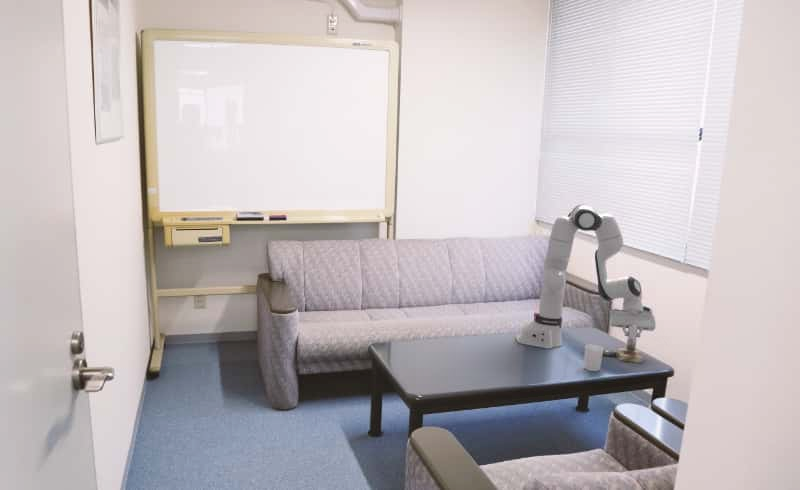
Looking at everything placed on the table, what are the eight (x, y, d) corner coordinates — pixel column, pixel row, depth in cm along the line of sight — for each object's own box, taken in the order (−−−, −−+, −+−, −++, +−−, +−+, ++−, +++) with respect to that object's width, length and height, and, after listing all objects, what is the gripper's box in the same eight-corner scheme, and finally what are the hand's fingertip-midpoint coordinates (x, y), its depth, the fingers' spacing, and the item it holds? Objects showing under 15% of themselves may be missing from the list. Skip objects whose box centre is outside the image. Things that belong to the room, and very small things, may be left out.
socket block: (619, 360, 283) (619, 354, 283) (617, 352, 293) (617, 347, 292) (641, 362, 281) (642, 357, 281) (639, 355, 290) (639, 350, 290)
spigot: (626, 350, 285) (629, 326, 282) (625, 347, 289) (628, 323, 286) (635, 351, 284) (638, 327, 282) (634, 348, 288) (637, 324, 285)
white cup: (602, 372, 267) (604, 351, 265) (583, 370, 268) (585, 349, 266) (600, 366, 274) (602, 345, 272) (582, 364, 276) (584, 343, 274)
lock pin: (598, 348, 290) (598, 353, 291) (599, 351, 288) (598, 355, 289) (616, 351, 288) (615, 355, 289) (616, 353, 286) (616, 358, 287)
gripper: (610, 304, 292) (610, 330, 284) (655, 309, 287) (656, 335, 279) (608, 311, 297) (608, 336, 289) (653, 315, 292) (654, 341, 284)
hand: (632, 336), depth 284 cm, fingers closed on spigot, 4 cm apart
